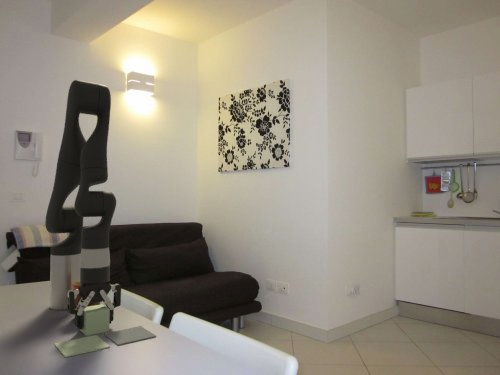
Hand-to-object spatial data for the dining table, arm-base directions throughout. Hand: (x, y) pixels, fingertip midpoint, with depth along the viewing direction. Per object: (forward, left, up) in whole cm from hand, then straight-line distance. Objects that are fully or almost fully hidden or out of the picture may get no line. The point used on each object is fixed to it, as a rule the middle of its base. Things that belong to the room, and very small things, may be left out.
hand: (94, 325), depth 110 cm
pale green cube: (0, 0, -1) cm, 1 cm away
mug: (-13, +1, -1) cm, 13 cm away
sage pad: (+10, -6, -1) cm, 12 cm away
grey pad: (+10, +6, -1) cm, 12 cm away
